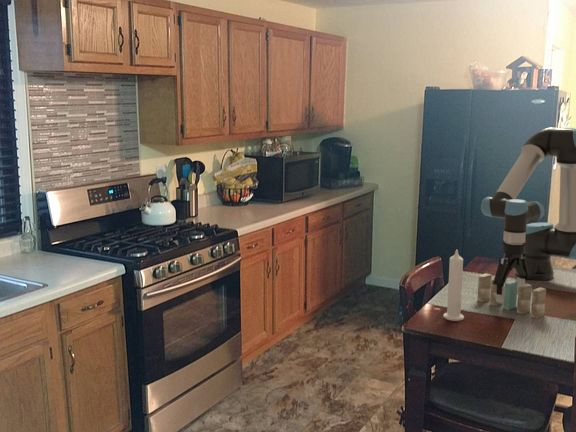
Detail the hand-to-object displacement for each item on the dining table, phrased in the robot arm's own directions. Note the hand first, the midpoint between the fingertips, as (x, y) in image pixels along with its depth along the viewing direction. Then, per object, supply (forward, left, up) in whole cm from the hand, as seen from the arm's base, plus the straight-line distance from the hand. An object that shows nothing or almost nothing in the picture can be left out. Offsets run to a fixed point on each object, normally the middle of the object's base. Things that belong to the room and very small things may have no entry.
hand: (510, 298), depth 217 cm
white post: (+24, -7, -4) cm, 25 cm away
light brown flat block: (0, -11, -4) cm, 12 cm away
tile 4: (0, -6, -4) cm, 7 cm away
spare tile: (0, 0, -4) cm, 4 cm away
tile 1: (0, +11, -4) cm, 12 cm away
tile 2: (0, +6, -4) cm, 7 cm away
